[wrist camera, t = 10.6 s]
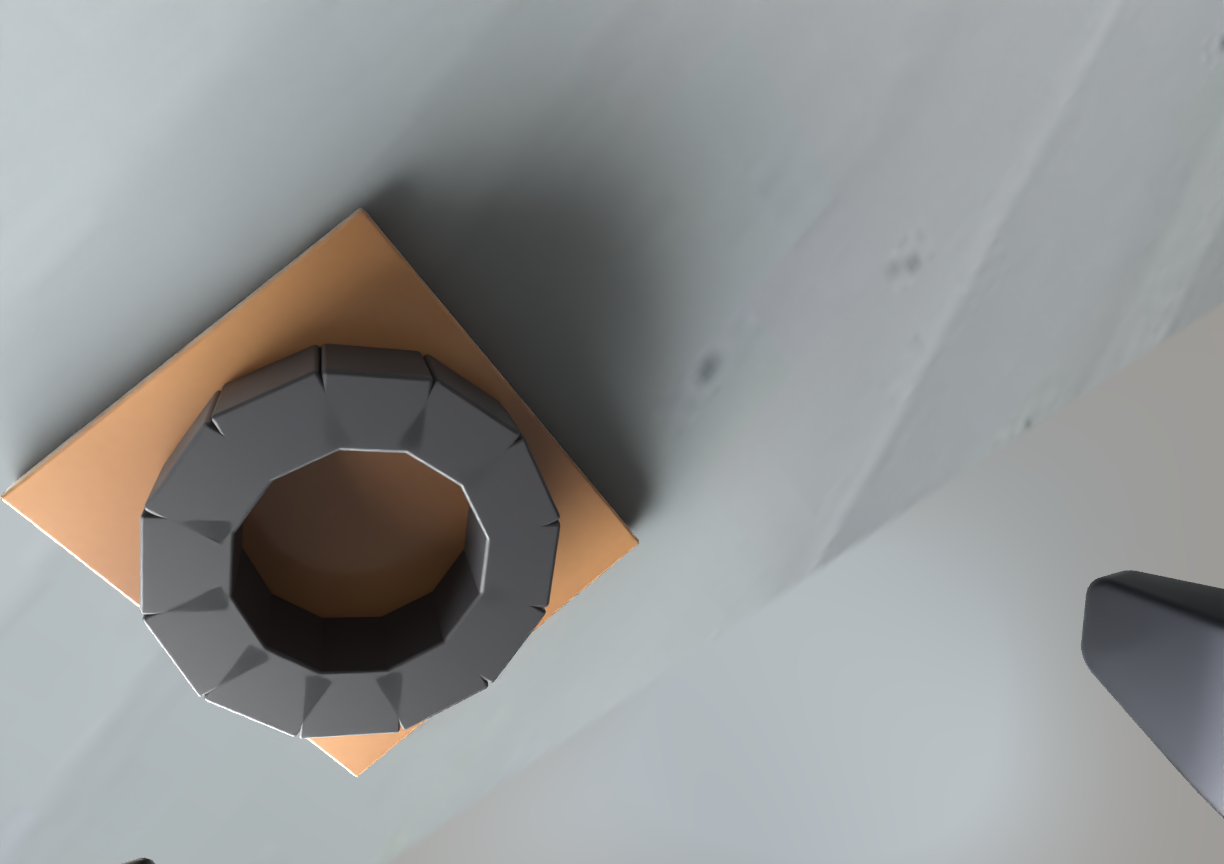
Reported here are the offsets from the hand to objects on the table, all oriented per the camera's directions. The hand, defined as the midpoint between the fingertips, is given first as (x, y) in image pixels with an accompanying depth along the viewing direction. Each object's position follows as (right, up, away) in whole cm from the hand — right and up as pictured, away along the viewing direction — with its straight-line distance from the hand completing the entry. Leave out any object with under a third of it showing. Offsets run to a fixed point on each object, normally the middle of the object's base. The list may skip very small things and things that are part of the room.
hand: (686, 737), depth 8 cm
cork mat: (-6, +1, +10) cm, 11 cm away
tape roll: (-6, +1, +9) cm, 11 cm away
